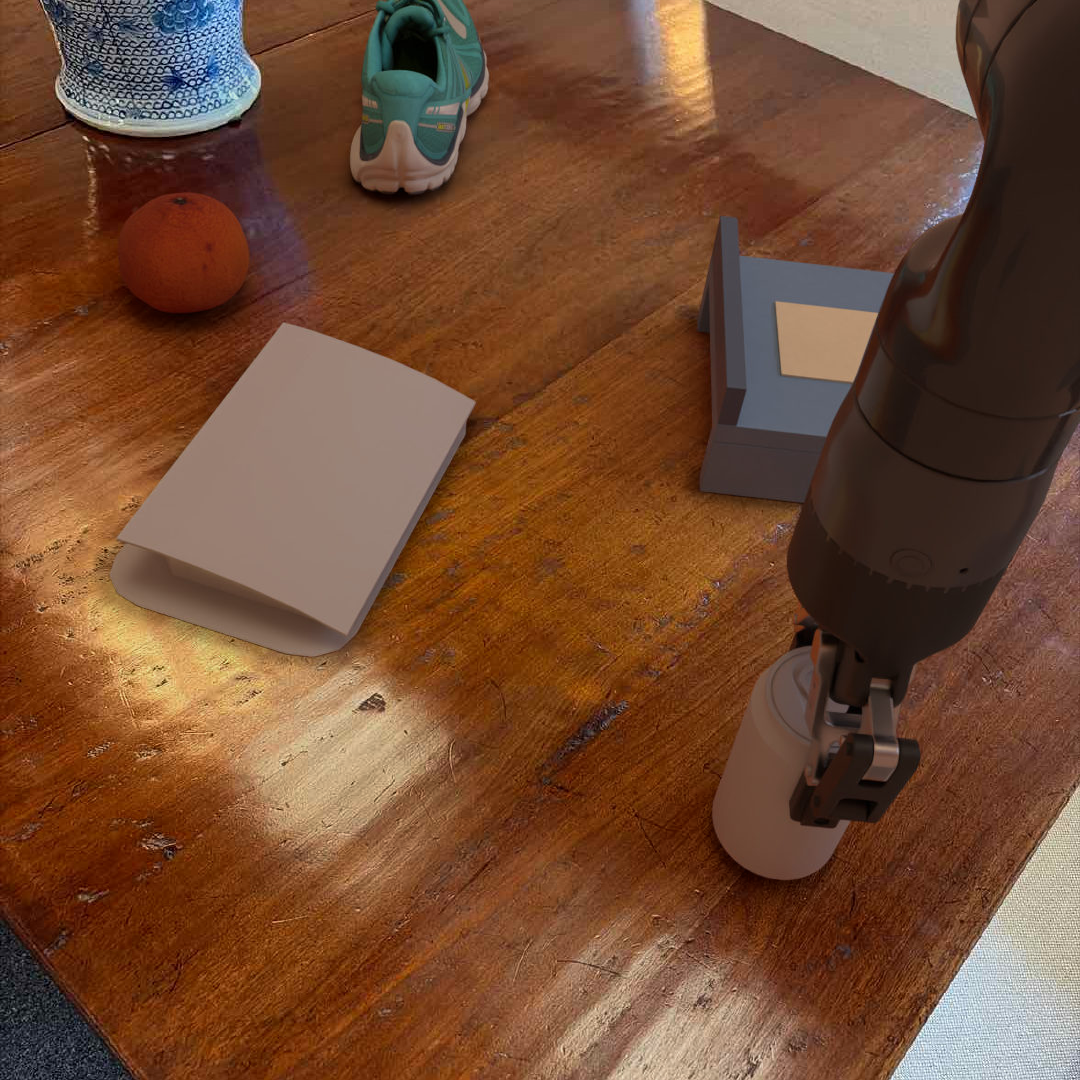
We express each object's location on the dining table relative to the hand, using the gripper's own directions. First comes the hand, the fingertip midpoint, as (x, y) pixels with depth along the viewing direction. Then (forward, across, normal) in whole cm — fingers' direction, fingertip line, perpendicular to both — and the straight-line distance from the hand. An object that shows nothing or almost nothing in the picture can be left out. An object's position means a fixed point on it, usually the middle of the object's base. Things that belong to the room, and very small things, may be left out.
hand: (806, 747), depth 55 cm
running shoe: (+8, +66, +27) cm, 72 cm away
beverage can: (+8, 0, 0) cm, 8 cm away
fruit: (+8, +38, +40) cm, 56 cm away
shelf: (+8, +33, -4) cm, 34 cm away
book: (+8, +20, +28) cm, 36 cm away
